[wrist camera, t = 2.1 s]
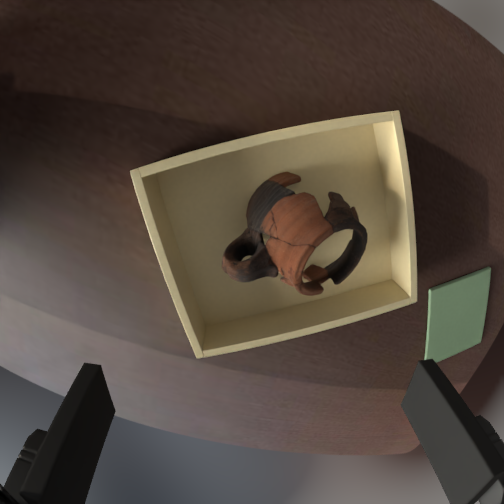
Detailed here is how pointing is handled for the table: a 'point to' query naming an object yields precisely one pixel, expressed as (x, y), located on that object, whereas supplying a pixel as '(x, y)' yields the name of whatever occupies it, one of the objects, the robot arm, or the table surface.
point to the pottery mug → (293, 237)
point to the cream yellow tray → (235, 222)
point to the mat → (456, 314)
